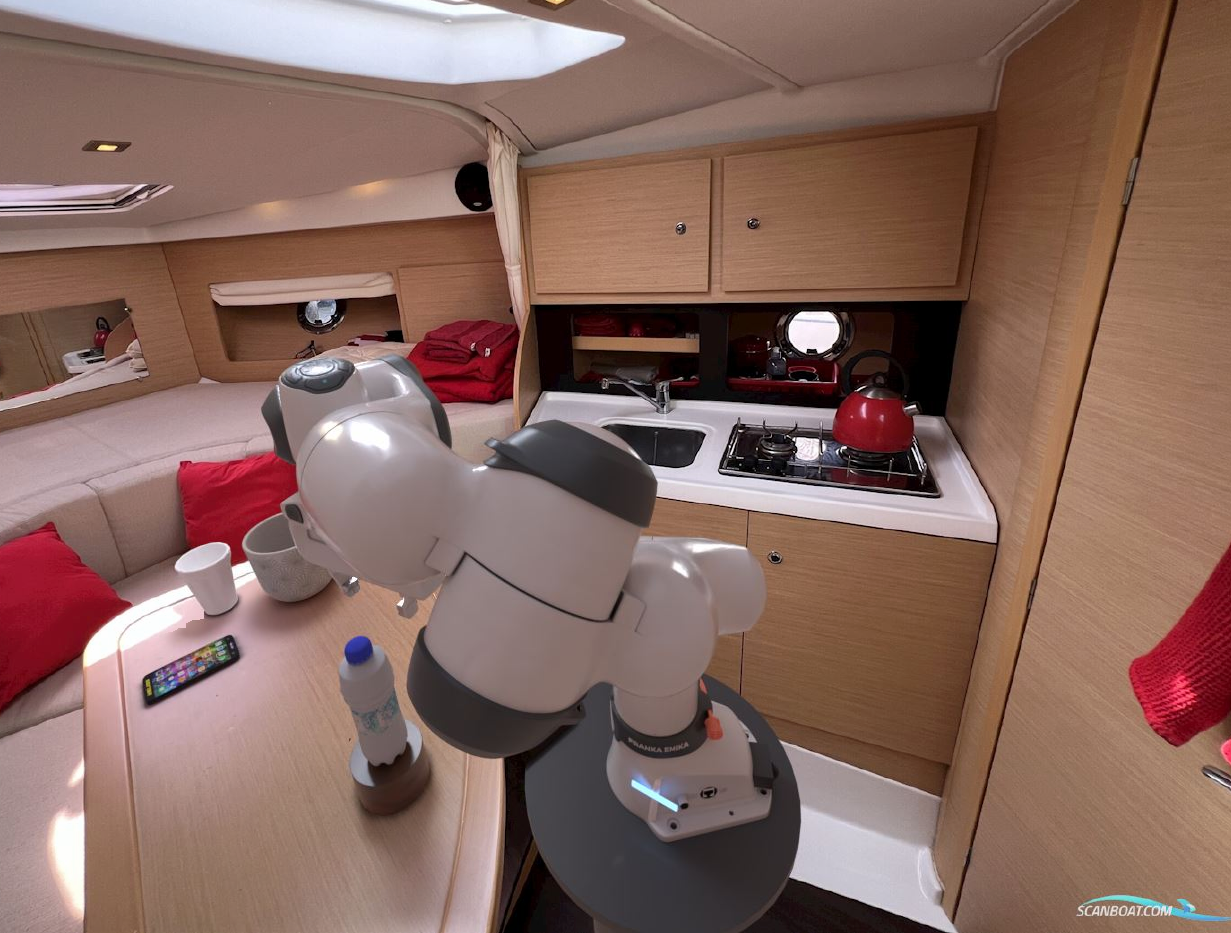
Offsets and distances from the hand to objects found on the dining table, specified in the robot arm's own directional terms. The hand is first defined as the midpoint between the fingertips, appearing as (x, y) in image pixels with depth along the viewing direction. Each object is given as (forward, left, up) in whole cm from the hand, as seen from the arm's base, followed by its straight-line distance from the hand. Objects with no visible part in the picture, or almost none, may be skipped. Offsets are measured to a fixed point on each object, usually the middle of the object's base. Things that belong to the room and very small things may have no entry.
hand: (379, 602), depth 65 cm
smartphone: (+50, -22, -33) cm, 64 cm away
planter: (+39, -44, -33) cm, 68 cm away
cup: (+55, -39, -33) cm, 75 cm away
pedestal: (+5, -1, -33) cm, 33 cm away
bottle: (+5, -1, -27) cm, 28 cm away
